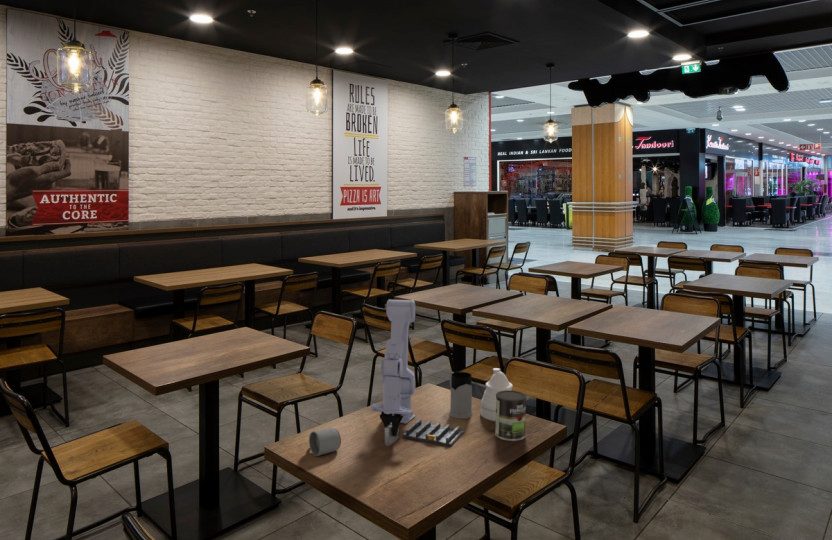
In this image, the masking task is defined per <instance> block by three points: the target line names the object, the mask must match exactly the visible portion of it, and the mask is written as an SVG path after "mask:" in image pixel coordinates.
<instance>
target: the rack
mask: <svg viewBox="0 0 832 540" xmlns="http://www.w3.org/2000/svg"><path fill="white" fill-rule="evenodd" d="M441 423H442V422H437V423H436V424H432V420H427V422H423V420H422V418H419V419H418V420H416V421H415V422H414V423H413V424H411V425H410V426H409V427H408V428H407V429H406V430H405V432H404V433H403V434H402V438H405V439H410V440H413V441H419V442H425V443H429V444H434V445H440V446H445V447H452V446H453V444H455V442H456V441H457V440H458V439H459V438H460V437H461V436H462V435H463V434H464V430H463V429H461V427H460V425H457V426H456V427H455V428H453V427H451V423H447V424H446V425H445V426H442V425H441Z"/></svg>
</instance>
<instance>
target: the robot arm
mask: <svg viewBox="0 0 832 540" xmlns="http://www.w3.org/2000/svg"><path fill="white" fill-rule="evenodd" d="M385 308H386V309H385V310H386V311H385V312H386V316H387V318H388V320H389V321H390V324H391V328H390V338H389V339H388V340H387V341H386V343H385V344H386V346H385V351H384V359H383V360H382V361H381V364H380V374H381V382H382V403H372V404H371V406H370V411H371V412H380V414H379V418H380V420H381V422H382V424H383V426H384V428H385V427H386V426H388V425H389V424H390V423H391V422H392V435H393V436H396V435H397V432H398V428H399V427H400V424H405V425H406V424H408V423H409V422H410V421H411V420H413V419H414V418H415V417H416V415H415V414H414V410H413V409H412V405H411V404H412V396H413V395H414V394H415V390H416V379H415V377H416V376H415V373H414V371H412V370H411V369H410V368H409V367H408V365H409V364H408V363H409V362H408V357H409V356H408V355H409V354H408V353H409V328H410V324H411V323H414V322H415V320H416V302H415V300H414V299H390V298H389V299H388V300H387V302H386V307H385ZM399 429H400V428H399Z"/></svg>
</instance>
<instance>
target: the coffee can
mask: <svg viewBox="0 0 832 540" xmlns="http://www.w3.org/2000/svg"><path fill="white" fill-rule="evenodd" d="M527 398H528V397H527V394H525V393H523V392H522V391H517V390H512V391H510V390H507V391H500V392H498V393H496V421H495V432H494V435H495V437H497V438H498V439H499V440H503V441H507V442H518V441H522V440H524V439H525V438H526V418H527V417H526V414H527V412H526V411H527Z"/></svg>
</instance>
